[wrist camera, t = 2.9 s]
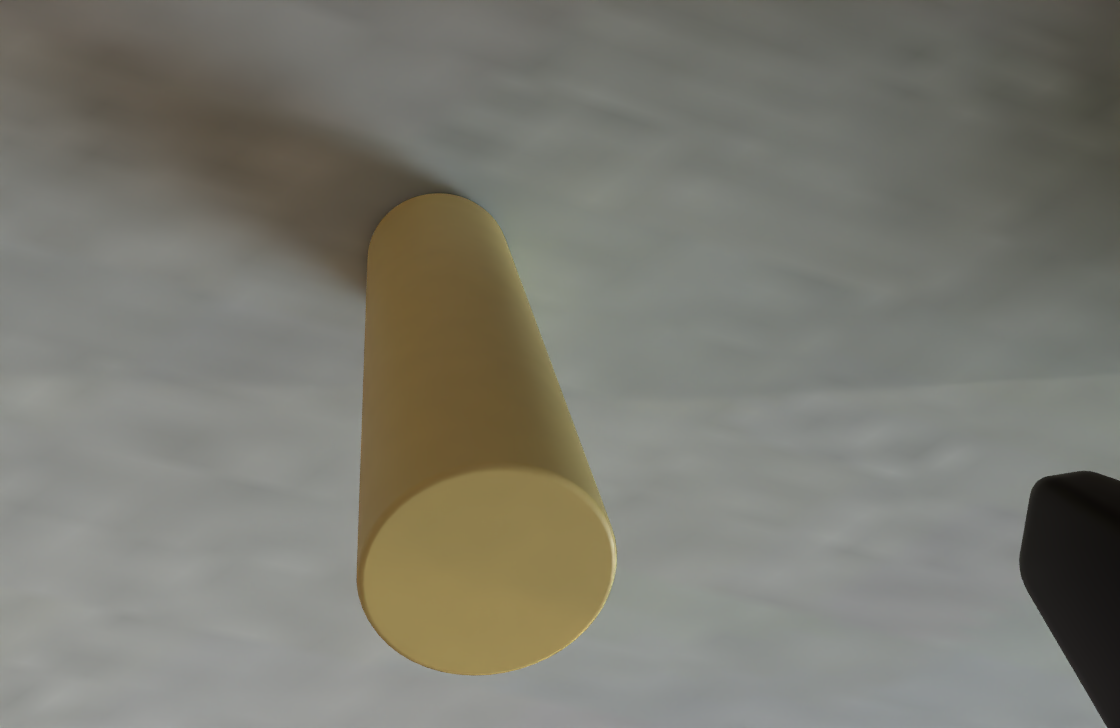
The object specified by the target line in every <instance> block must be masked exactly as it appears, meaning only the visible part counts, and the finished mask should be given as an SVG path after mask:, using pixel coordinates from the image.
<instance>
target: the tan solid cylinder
mask: <svg viewBox="0 0 1120 728" xmlns="http://www.w3.org/2000/svg"><path fill="white" fill-rule="evenodd" d="M616 566H617V549H616V542H615V537H614V533H613V530H612V527H611V524H610V521H609V519H608V516H607V513H606V510H605V508H604V505H603V502H602V500H601V497H600V494H599V491H598V489H597V486H596V483H595V481H594V478H593V475H592V473H591V470H590V467H589V464H588V462H587V459H586V456H585V454H584V451H583V448H582V445H581V443H580V440H579V437H578V435H577V432H576V429H575V427H574V424H573V421H572V418H571V416H570V413H569V410H568V408H567V405H566V402H565V399H564V397H563V394H562V391H561V389H560V386H559V383H558V381H557V378H556V375H555V372H554V370H553V367H552V364H551V362H550V359H549V356H548V353H547V351H546V348H545V345H544V343H543V340H542V337H541V335H540V332H539V329H538V326H537V324H536V321H535V318H534V316H533V313H532V310H531V307H530V305H529V302H528V299H527V297H526V294H525V291H524V288H523V286H522V283H521V280H520V278H519V275H518V272H517V270H516V267H515V264H514V261H513V259H512V256H511V253H510V251H509V248H508V245H507V242H506V240H505V237H504V235H503V233H502V231H501V229H500V227H499V225H498V224H497V222H496V221H495V220H494V219H493V217H492V216H491V215H490V214H489V213H488V212H487V211H485V210H484V209H483V208H482V207H480V206H479V205H477V204H476V203H474V202H472V201H470V200H468V199H466V198H463V197H460V196H456V195H451V194H443V193H434V194H425V195H420V196H417V197H414V198H411V199H409V200H407V201H404V202H402V203H401V204H399V205H398V206H396V207H395V208H393V209H392V210H391V211H390V212H389V213H388V214H387V215H386V216H385V217H384V218H383V219H382V220H381V222H380V223H379V225H378V226H377V227H376V229H375V231H374V233H373V235H372V238H371V241H370V244H369V249H368V260H367V289H366V318H365V347H364V376H363V406H362V435H361V464H360V493H359V523H358V552H357V589H358V595H359V599H360V602H361V605H362V608H363V610H364V613H365V615H366V617H367V619H368V621H369V622H370V623H371V625H372V626H373V628H374V629H375V631H376V632H377V633H378V635H379V636H380V637H381V638H382V639H383V640H384V641H385V642H386V643H387V644H388V645H389V646H390V647H392V648H393V649H394V650H395V651H397V652H398V653H399V654H401V655H403V656H404V657H406V658H408V659H409V660H411V661H413V662H415V663H418V664H420V665H422V666H425V667H427V668H431V669H434V670H437V671H441V672H446V673H452V674H460V675H491V674H498V673H505V672H509V671H514V670H518V669H521V668H524V667H527V666H530V665H533V664H535V663H538V662H540V661H542V660H544V659H546V658H549V657H550V656H552V655H554V654H555V653H557V652H559V651H561V650H562V649H564V648H565V647H566V646H568V645H569V644H570V643H572V642H573V641H574V640H576V639H577V638H578V637H579V636H580V635H581V634H582V633H583V632H584V631H585V630H586V629H587V628H588V627H589V626H590V624H591V623H592V622H593V621H594V620H595V618H596V617H597V615H598V614H599V612H600V611H601V609H602V608H603V606H604V604H605V602H606V600H607V598H608V596H609V593H610V590H611V587H612V584H613V581H614V577H615V572H616Z"/></svg>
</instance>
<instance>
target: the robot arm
mask: <svg viewBox="0 0 1120 728" xmlns="http://www.w3.org/2000/svg"><path fill="white" fill-rule="evenodd" d="M1019 563H1020V572H1021V577H1022V580H1023V582H1024V585H1025V587H1026V589H1027V591H1028V593H1029V595H1030V597H1031V598H1032V600H1033V602H1034V603H1035V605H1036V607H1037V609H1038V610H1039V612H1040V614H1041V615H1042V617H1043V619H1044V620H1045V622H1046V624H1047V626H1048V627H1049V629H1050V631H1051V632H1052V634H1053V636H1054V638H1055V639H1056V641H1057V643H1058V644H1059V646H1060V648H1061V649H1062V651H1063V653H1064V655H1065V656H1066V658H1067V660H1068V661H1069V663H1070V665H1071V667H1072V668H1073V670H1074V672H1075V673H1076V675H1077V677H1078V678H1079V680H1080V682H1081V684H1082V685H1083V687H1084V689H1085V690H1086V692H1087V694H1088V696H1089V697H1090V699H1091V701H1092V702H1093V704H1094V706H1095V707H1096V709H1097V711H1098V713H1099V714H1100V716H1101V718H1102V719H1103V721H1104V723H1105V724H1106V726H1107V728H1120V481H1119V480H1116V479H1113V478H1110V477H1107V476H1104V475H1102V474H1099V473H1095V472H1092V471H1077V472H1071V473H1065V474H1059V475H1053V476H1047V477H1044V478H1042V479H1040V480H1039V481H1037V482H1036V484H1035V485H1034V487H1033V488H1032V490H1031V494H1030V499H1029V504H1028V510H1027V516H1026V522H1025V528H1024V533H1023V539H1022V545H1021V551H1020V558H1019Z"/></svg>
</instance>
